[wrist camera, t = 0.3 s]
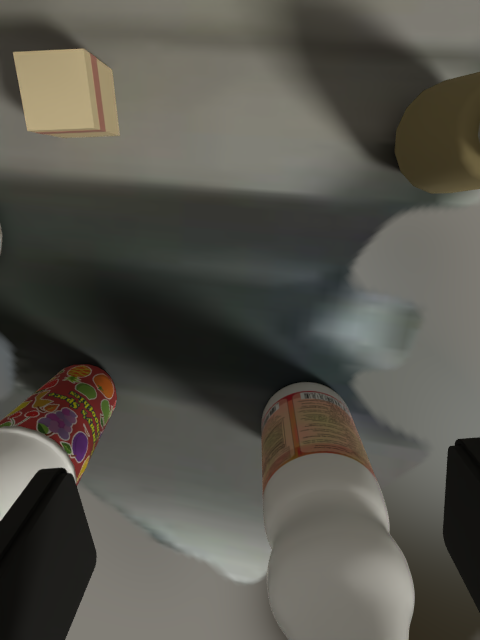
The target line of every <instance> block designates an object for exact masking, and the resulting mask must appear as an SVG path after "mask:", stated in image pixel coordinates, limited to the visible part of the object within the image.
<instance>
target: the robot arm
mask: <svg viewBox="0 0 480 640" xmlns="http://www.w3.org/2000/svg"><path fill="white" fill-rule="evenodd" d="M443 537H444V541H445V545H446V547H447V550H448V552H449V554H450V556H451V558H452V559H453V561H454V563H455V565H456V567H457V569H458V571H459V573H460V575H461V577H462V579H463V581H464V583H465V585H466V587H467V589H468V590H469V593H470V595H471V596H472V598H473V600H474V602H475V604H476V606H477V608H478V610H479V612H480V438H466V439H458V440H456V442H455V446H450V447H449V448H448V457H447V475H446V490H445V506H444V524H443ZM95 565H96V550H95V546H94V543H93V539H92V536H91V533H90V529H89V526H88V523H87V519H86V516H85V513H84V510H83V506H82V503H81V499H80V496H79V493H78V489H77V486H76V483H75V479H74V477H73V475H72V474H71V473H67V470H66V469H65V468H48V469H41V470H39V471H38V472H37V473H36V474H35V475H34V477H33V478H32V479H31V481H30V482H29V483H28V485H27V486H26V487H25V489H24V490H23V491H22V493H21V494H20V495H19V497H18V498H17V500H16V501H15V502H14V504H13V505H12V506H11V508H10V509H9V510H8V512H7V513H6V514H5V516H4V517H3V518H2V520H1V521H0V640H65V638H66V636H67V634H68V631H69V628H70V626H71V624H72V622H73V619H74V617H75V614H76V612H77V609H78V607H79V605H80V602H81V600H82V597H83V595H84V592H85V590H86V588H87V585H88V583H89V580H90V578H91V575H92V573H93V571H94V568H95Z"/></svg>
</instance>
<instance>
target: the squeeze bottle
mask: <svg viewBox="0 0 480 640" xmlns="http://www.w3.org/2000/svg"><path fill="white" fill-rule="evenodd" d="M395 155H396V158H397V161H398V165H399V168H400V171H401V173H402V174H403V175H404V176H405V177H406V178H407V179H408V180H409V182H410V183H411V184H412V185H413V186H415V187H417V188H419V189H422V190H424V191H427V192H429V193H453V192H460V191H468V190H475V189H480V72H477V73H473V74H469V75H465V76H461V77H457V78H453V79H449V80H445V81H443V82H441V83H439V84H436V85H434V86H432V87H430V88H428V89H426V90H424V91H423V92H422V93H421V94H420V95H419V96H418V97H417V98H416V99H415V100H414V101H413V102H412V103H411V104H410V105H409V106H408V107H407V108H406V110H405V112H404V115H403V117H402V119H401V121H400V123H399V125H398V128H397V130H396V141H395Z"/></svg>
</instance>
